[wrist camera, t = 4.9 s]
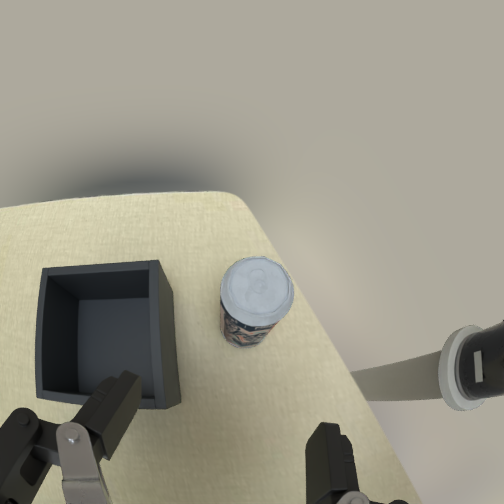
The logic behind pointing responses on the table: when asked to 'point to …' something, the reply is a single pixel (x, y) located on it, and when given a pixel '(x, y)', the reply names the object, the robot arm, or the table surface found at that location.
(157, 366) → the bin
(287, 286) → the beer can
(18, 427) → the robot arm
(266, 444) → the table surface
